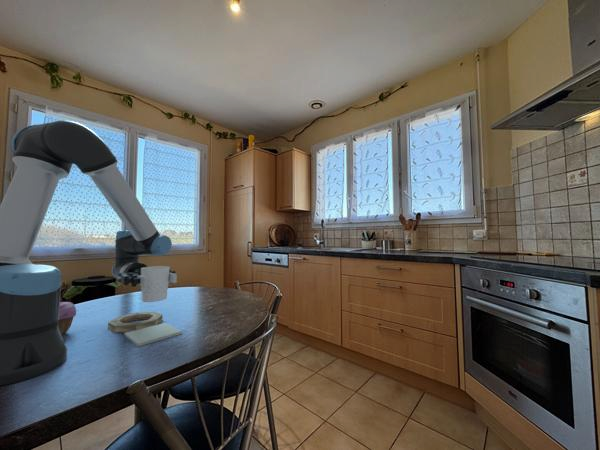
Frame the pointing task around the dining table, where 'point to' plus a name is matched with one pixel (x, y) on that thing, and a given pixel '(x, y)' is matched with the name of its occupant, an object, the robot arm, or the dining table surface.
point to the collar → (122, 326)
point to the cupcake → (66, 316)
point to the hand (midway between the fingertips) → (161, 280)
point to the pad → (152, 334)
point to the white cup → (155, 283)
